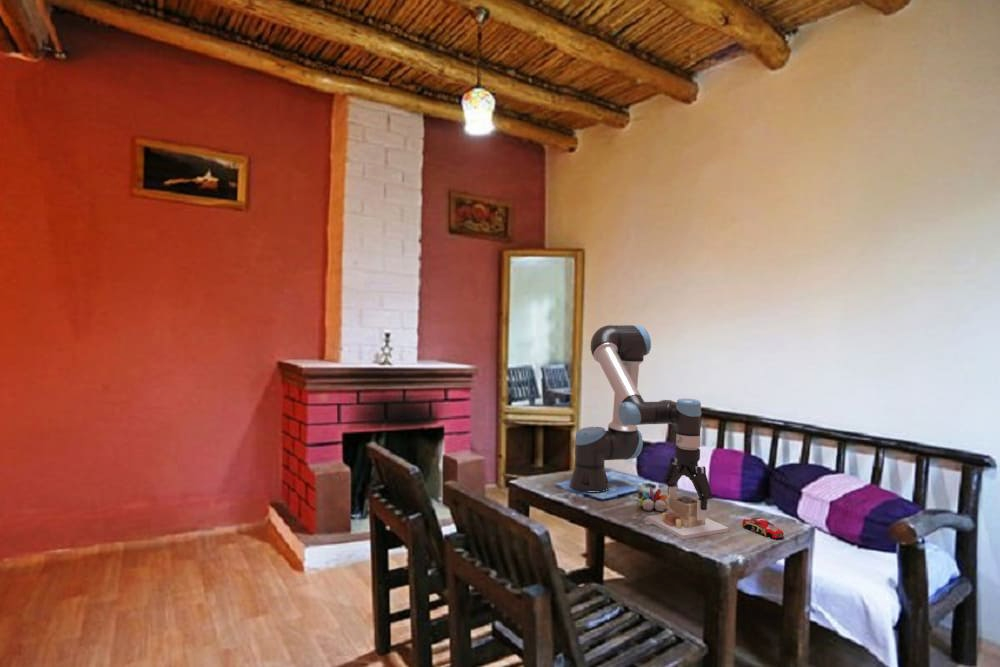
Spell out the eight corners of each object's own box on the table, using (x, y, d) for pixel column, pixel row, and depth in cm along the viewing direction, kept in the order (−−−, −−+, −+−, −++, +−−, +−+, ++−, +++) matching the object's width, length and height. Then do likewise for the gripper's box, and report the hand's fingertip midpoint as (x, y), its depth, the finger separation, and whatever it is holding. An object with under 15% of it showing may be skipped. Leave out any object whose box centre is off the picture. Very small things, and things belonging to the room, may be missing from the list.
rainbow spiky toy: (668, 513, 195) (669, 492, 195) (639, 511, 197) (640, 490, 197) (666, 506, 203) (667, 485, 203) (638, 504, 205) (639, 484, 205)
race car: (787, 539, 174) (787, 526, 173) (775, 542, 171) (775, 529, 171) (751, 525, 185) (752, 512, 185) (739, 527, 183) (740, 515, 183)
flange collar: (687, 516, 188) (688, 495, 188) (705, 524, 181) (705, 502, 181) (659, 520, 184) (660, 499, 184) (676, 529, 177) (676, 506, 176)
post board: (646, 519, 188) (646, 492, 188) (689, 513, 195) (689, 487, 195) (683, 539, 171) (683, 509, 171) (728, 531, 178) (729, 502, 178)
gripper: (653, 440, 193) (652, 502, 193) (706, 457, 170) (704, 527, 170) (671, 438, 196) (670, 499, 196) (725, 455, 173) (724, 524, 173)
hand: (686, 512), depth 183 cm, fingers open, 13 cm apart
